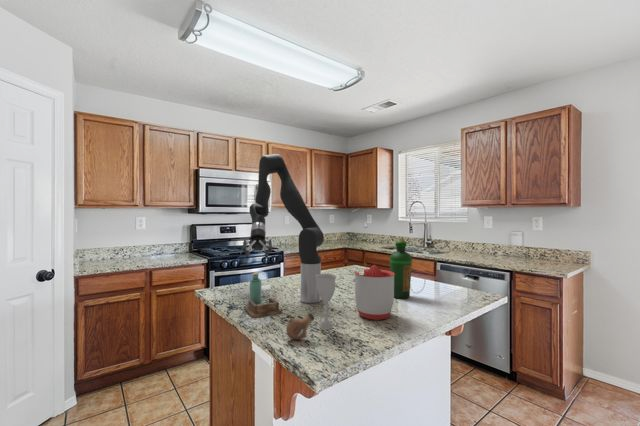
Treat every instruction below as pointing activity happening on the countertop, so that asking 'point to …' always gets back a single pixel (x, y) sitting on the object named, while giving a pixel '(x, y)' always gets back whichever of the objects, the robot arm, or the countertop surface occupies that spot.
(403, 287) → the bottle
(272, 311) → the u rest
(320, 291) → the chalice
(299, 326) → the brown animal figurine
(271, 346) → the countertop surface
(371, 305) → the citrus juicer
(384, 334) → the countertop surface
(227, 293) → the countertop surface
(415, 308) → the countertop surface
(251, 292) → the bottle
